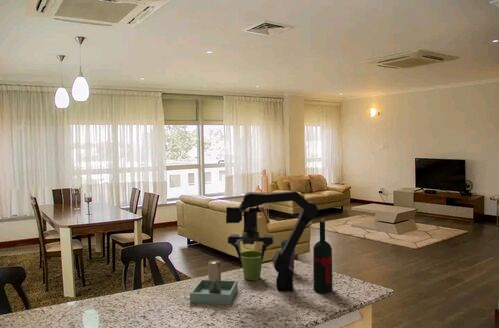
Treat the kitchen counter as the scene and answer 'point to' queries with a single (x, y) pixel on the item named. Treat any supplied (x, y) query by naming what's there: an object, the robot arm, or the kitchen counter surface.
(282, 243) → the cup
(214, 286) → the canister
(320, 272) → the wine bottle
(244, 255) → the plant pot
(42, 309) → the kitchen counter surface
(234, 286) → the tray
